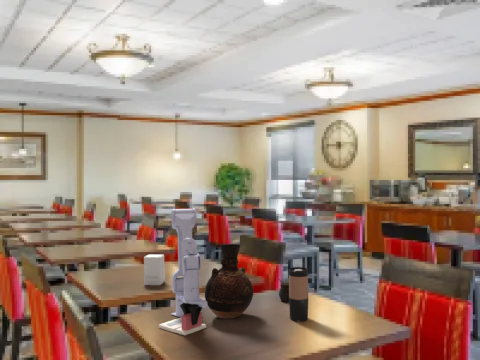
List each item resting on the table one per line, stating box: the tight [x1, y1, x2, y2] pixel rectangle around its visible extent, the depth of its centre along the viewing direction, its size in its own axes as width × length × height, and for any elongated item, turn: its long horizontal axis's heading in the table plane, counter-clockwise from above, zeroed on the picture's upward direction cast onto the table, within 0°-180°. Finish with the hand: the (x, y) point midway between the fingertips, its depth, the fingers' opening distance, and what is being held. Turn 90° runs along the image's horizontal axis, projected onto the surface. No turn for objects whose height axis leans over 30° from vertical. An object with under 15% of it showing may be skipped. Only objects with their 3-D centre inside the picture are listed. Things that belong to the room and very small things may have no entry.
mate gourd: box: [278, 278, 289, 303], centre depth 214 cm, size 7×8×10 cm
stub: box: [175, 311, 207, 336], centre depth 174 cm, size 11×5×6 cm, turn 140°
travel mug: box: [288, 266, 309, 322], centre depth 187 cm, size 8×8×20 cm
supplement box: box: [143, 254, 166, 286], centre depth 249 cm, size 9×9×15 cm
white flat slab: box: [158, 317, 182, 333], centre depth 178 cm, size 11×9×1 cm
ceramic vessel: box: [204, 243, 254, 320], centre depth 191 cm, size 21×18×30 cm
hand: (191, 323), depth 173 cm, fingers closed on stub, 2 cm apart
